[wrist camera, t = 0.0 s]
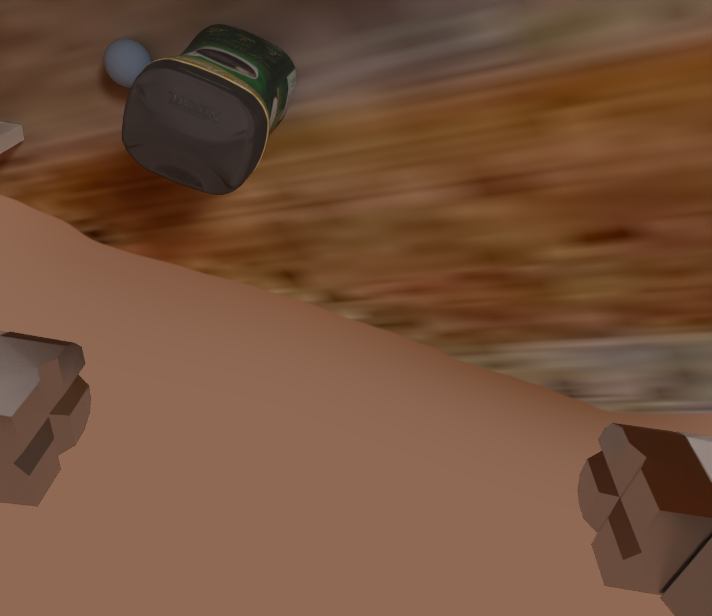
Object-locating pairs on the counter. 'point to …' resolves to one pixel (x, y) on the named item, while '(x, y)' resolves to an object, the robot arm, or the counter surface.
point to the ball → (125, 61)
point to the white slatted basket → (10, 135)
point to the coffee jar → (209, 109)
